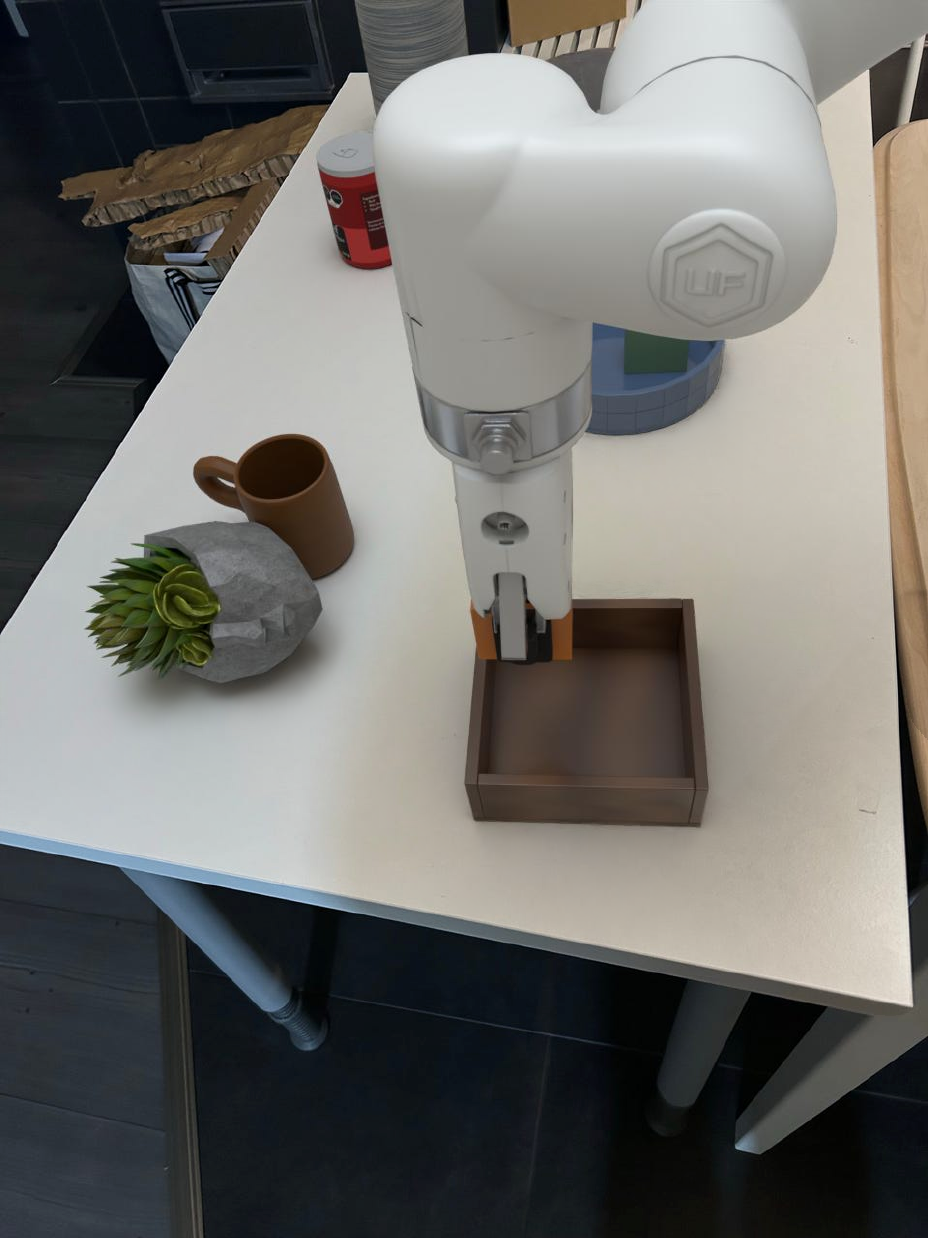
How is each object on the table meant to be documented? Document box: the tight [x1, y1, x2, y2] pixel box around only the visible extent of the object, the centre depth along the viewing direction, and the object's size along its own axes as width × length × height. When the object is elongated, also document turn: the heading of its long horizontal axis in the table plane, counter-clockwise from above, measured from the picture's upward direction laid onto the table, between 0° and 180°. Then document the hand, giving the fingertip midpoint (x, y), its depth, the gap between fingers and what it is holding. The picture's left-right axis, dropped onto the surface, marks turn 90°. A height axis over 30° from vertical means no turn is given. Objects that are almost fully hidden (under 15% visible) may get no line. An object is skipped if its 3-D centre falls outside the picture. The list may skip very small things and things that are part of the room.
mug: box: [192, 433, 355, 580], centre depth 73 cm, size 12×8×9 cm, turn 73°
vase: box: [353, 0, 470, 119], centre depth 103 cm, size 12×12×23 cm
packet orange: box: [469, 598, 573, 660], centre depth 53 cm, size 6×3×5 cm, turn 85°
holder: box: [463, 597, 710, 828], centre depth 61 cm, size 15×14×6 cm
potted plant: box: [84, 520, 323, 684], centre depth 66 cm, size 12×13×15 cm
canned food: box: [316, 131, 392, 270], centre depth 96 cm, size 8×8×11 cm
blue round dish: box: [585, 323, 727, 436], centre depth 83 cm, size 18×18×4 cm
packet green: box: [624, 329, 690, 374], centre depth 82 cm, size 6×3×5 cm, turn 86°
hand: (526, 627), depth 54 cm, fingers closed on packet orange, 3 cm apart
